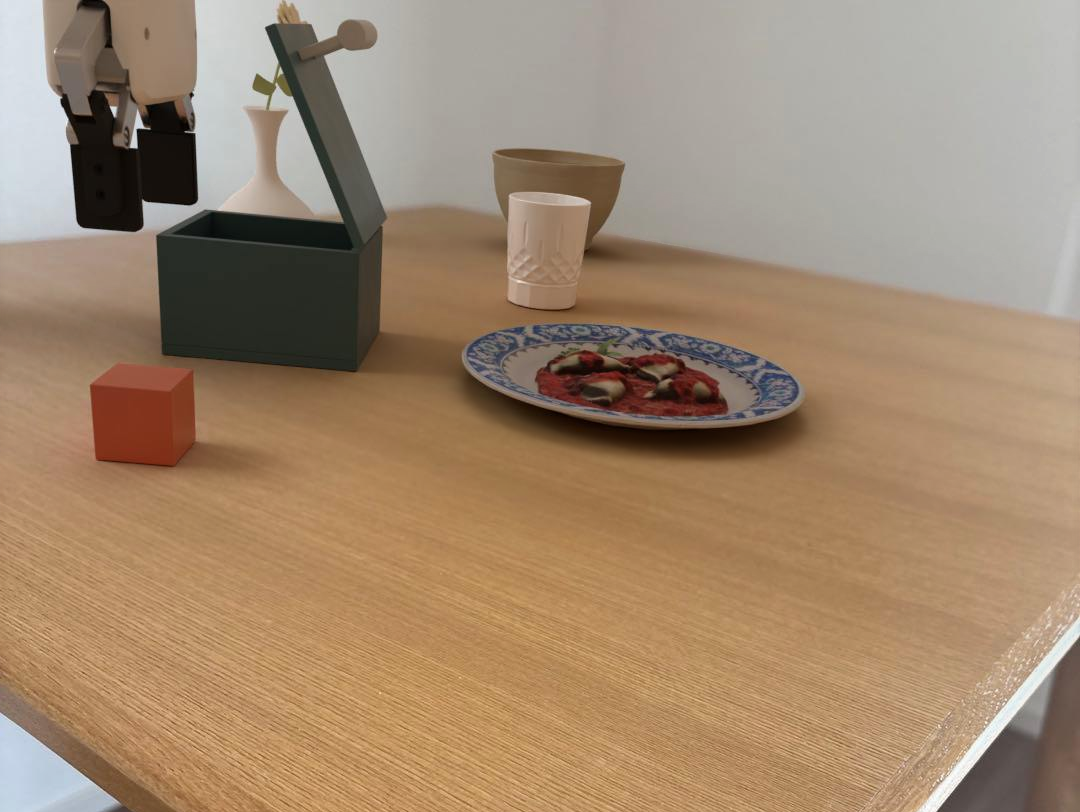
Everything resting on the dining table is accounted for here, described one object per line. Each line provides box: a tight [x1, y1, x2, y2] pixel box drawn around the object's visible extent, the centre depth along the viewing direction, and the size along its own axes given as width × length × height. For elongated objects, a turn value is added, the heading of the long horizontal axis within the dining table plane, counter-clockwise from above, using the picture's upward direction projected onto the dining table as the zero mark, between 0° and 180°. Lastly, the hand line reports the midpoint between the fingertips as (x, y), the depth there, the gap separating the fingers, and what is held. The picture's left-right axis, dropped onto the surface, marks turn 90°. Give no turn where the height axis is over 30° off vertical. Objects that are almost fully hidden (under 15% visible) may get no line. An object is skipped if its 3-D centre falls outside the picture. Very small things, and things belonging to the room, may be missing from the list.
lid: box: [264, 18, 388, 248], centre depth 84 cm, size 15×13×6 cm
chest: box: [155, 208, 384, 372], centre depth 89 cm, size 15×13×9 cm
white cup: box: [506, 192, 591, 311], centre depth 110 cm, size 8×8×10 cm
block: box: [89, 362, 197, 467], centre depth 66 cm, size 4×4×4 cm
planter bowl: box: [491, 147, 626, 251], centre depth 139 cm, size 16×16×11 cm
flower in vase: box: [217, 0, 317, 220], centre depth 128 cm, size 13×11×25 cm
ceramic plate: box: [461, 323, 807, 431], centre depth 85 cm, size 26×26×3 cm
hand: (142, 215), depth 61 cm, fingers open, 9 cm apart
